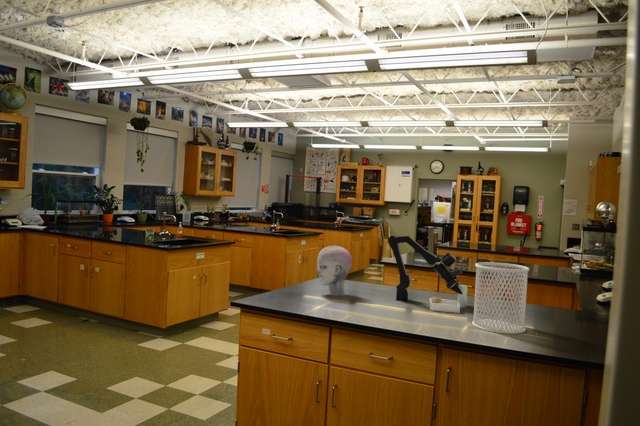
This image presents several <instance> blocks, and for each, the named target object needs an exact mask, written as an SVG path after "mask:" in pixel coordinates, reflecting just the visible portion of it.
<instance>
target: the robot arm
mask: <svg viewBox="0 0 640 426" xmlns="http://www.w3.org/2000/svg"><path fill="white" fill-rule="evenodd" d="M387 243H388V245H389V247H390V249H391V250H392V253H393V256H394V260H395V263H396V266H397V269H398V273H399V283H398V285H396V286H395V287H396V293H395V294H396V296H395V300H396V301H404V302H407V301H408V300H409V292H408V288H409V287H410V286H411V284H412V281H413V280H412V277H411V274H410V273H408V272H407V271H406V268H405V263H404V259H403V256H402V253H401V250H400V249H401V248H400V244H402V243H407V244H408V245H409V246H410V247H411V248H412V249H413V250H415V251H416V252H417V253H419V254H420V256H421V257H422V258H423V259H424V261H426V263H427V264H428V265H430V266H431V267H430V269H431V270H430V272H433V271H435V272H436V273H437V274H438V275H439V276H440V278H441V279H442V280H444V282H445V286H446V288H447V289H449V290H451V291H453V292H455V293H456V294H458V293H459V294H461V295H462V294H463V293H462V291H461V290H460V288H459V287H458V285H460V283H459V277H458V276H459V275H462V274H463V271H462V269H461V268H460V267H458V266H456V267H454V269H453V270H450V269H449V268H450V267H451V266H452V265H454V264H455V263H456V262H457V259H456V258H455V257H454V256H453V255H452V254H451V253H450V252H447V253H446V254H445V255H444V256H442V257H440V256H437V255H436V254H435V253H432V252H431V251H428V250H427V249H425V248H424V247H423V246H422V245H420V244H419V243H418V242H417V241H416V240H415V239H413V238H412V237H411V235H402V236H401V235H399V236H397V235H391V236H389V237H388V238H387ZM448 267H449V268H448Z"/></svg>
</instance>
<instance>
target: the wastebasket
mask: <svg viewBox="0 0 640 426" xmlns="http://www.w3.org/2000/svg"><path fill="white" fill-rule="evenodd" d="M474 265H475V267H476V269H475V272H476V273H475V286H474V289H475V290H474V303H473V304H474V305H473V307H474V308H473V320H472V322H471V323H472V325H473V326H474V327H475V328H477V329H481V330H483V331H487V332H489V333H490V332H492V333H498V334H506V335H507V334H508V335H512V334H513V335H517V334H522V333H525V332H526V331H527V330H526V327H525V326H526V323H525V322H526V308H527V307H526V306H527V294H528V293H527V291H528V277H529V276H528V275H529V273H528V272H530V267H527V266H525V265H520V264H514V263H506V262H495V261H493V262H491V261H483V262H482V261H480V262H476V263H475V264H474ZM506 290H507V291H506ZM509 299H510V300H509ZM499 303H500V304H499ZM501 307H502V308H501ZM505 308H506V309H505ZM508 317H509V318H508Z"/></svg>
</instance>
